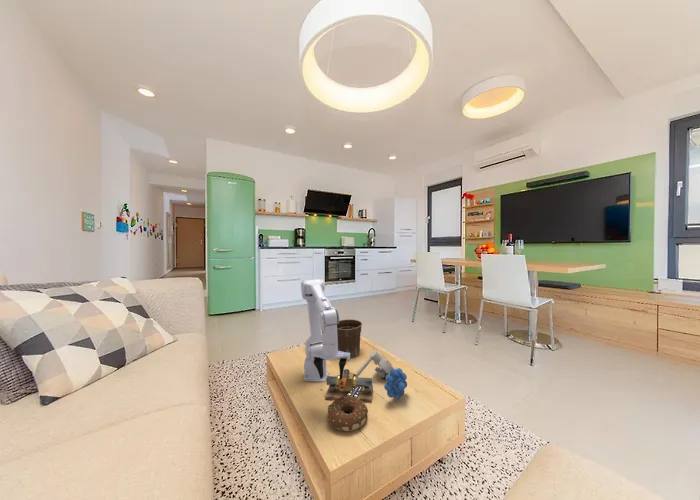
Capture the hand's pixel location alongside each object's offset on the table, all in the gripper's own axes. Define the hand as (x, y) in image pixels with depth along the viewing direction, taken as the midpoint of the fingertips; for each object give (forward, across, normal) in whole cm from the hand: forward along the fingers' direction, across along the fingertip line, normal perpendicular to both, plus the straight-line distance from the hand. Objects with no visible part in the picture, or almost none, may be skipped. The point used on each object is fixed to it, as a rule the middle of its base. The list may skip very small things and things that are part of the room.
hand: (331, 377), depth 94 cm
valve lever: (+3, +4, +3) cm, 6 cm away
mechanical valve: (+11, +14, +18) cm, 25 cm away
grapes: (+11, +24, +5) cm, 27 cm away
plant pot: (+11, 0, +42) cm, 43 cm away
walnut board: (+10, +6, +7) cm, 14 cm away
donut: (+11, +6, -7) cm, 14 cm away
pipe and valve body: (+9, +5, +7) cm, 13 cm away
